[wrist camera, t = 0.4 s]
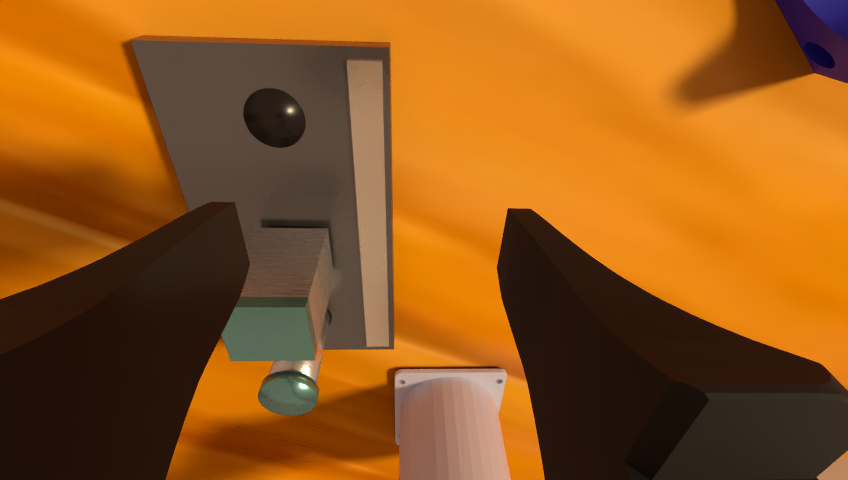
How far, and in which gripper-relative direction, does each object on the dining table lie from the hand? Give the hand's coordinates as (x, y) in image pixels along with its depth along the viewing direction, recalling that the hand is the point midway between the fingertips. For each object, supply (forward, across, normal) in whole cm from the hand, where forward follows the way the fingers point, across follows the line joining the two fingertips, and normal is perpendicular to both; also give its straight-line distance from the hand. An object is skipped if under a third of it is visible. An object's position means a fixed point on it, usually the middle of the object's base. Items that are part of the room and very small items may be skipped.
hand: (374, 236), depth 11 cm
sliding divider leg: (+8, +5, +7) cm, 12 cm away
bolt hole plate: (+10, +5, +6) cm, 12 cm away
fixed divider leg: (+10, +5, +12) cm, 16 cm away
